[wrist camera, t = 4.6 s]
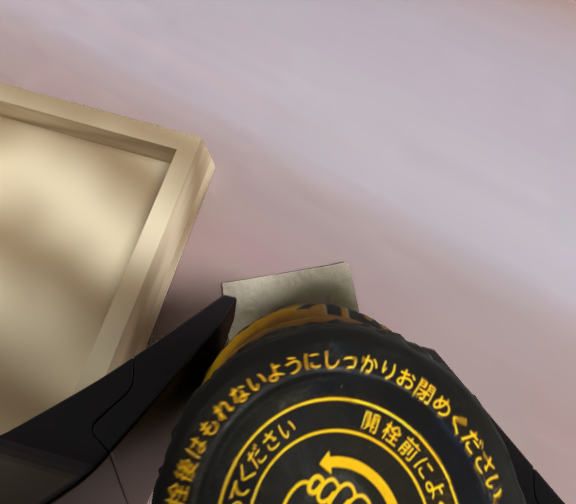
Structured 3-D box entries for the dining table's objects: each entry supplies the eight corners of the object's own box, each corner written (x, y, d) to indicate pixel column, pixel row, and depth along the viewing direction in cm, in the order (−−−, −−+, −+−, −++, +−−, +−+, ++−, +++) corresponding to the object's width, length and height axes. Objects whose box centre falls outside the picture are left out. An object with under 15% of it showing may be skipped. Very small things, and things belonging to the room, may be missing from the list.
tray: (92, 487, 14) (40, 533, 11) (-162, 401, 15) (-273, 422, 12) (215, 167, 18) (201, 138, 15) (10, 110, 18) (-41, 71, 15)
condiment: (242, 448, 14) (61, 1033, 3) (222, 283, 16) (62, 200, 4) (381, 420, 15) (761, 829, 3) (347, 262, 17) (501, 136, 5)
